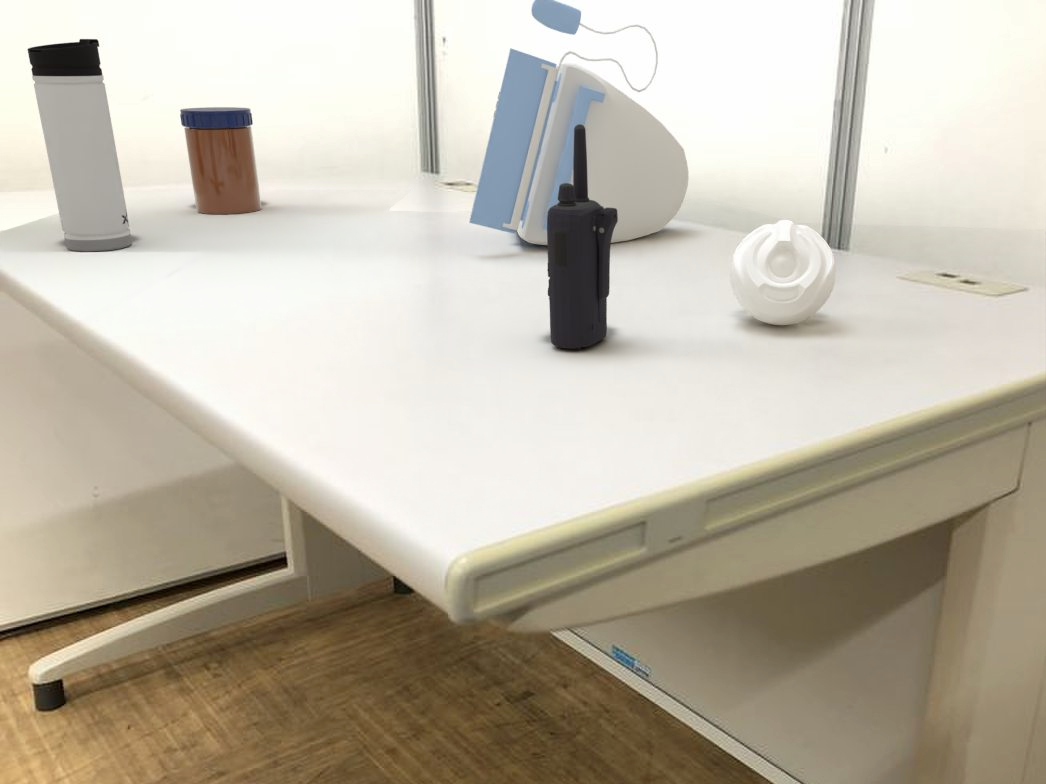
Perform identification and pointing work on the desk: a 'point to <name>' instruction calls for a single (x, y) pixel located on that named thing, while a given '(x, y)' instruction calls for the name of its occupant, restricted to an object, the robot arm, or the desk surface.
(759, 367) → the desk surface
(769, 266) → the motion sensor
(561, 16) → the vintage crt computer
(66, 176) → the travel mug
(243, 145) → the jar
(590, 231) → the two-way radio
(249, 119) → the jar lid
